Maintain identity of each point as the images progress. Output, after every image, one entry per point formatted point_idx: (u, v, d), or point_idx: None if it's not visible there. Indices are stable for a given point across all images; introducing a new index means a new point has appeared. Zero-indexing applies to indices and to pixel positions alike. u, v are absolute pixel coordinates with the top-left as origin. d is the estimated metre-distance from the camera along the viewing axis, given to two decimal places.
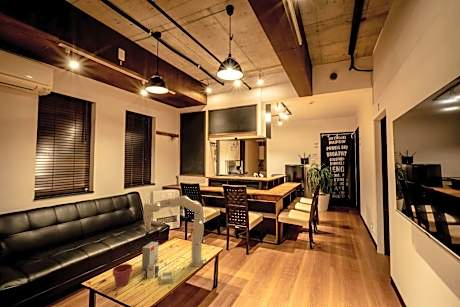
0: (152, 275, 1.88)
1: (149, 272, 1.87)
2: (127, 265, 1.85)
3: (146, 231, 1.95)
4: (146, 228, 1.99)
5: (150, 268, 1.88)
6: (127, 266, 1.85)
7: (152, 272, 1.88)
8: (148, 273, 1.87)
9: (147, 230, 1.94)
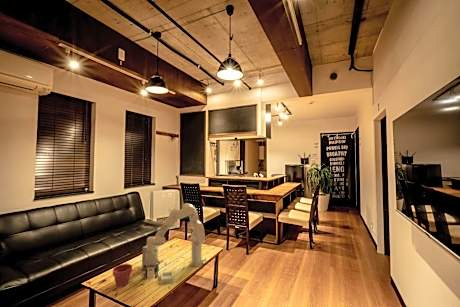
0: (152, 275, 1.88)
1: (149, 272, 1.87)
2: (127, 265, 1.85)
3: (158, 264, 1.92)
4: None
5: (150, 268, 1.88)
6: (127, 266, 1.85)
7: (152, 272, 1.88)
8: (148, 273, 1.87)
9: (159, 263, 1.93)
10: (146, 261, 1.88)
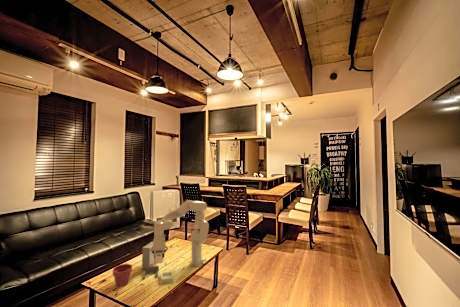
0: (160, 261, 1.82)
1: (157, 257, 1.81)
2: (127, 265, 1.85)
3: (166, 250, 1.85)
4: None
5: (158, 253, 1.81)
6: (127, 266, 1.85)
7: (160, 257, 1.82)
8: (156, 259, 1.81)
9: (167, 249, 1.86)
10: (154, 246, 1.82)
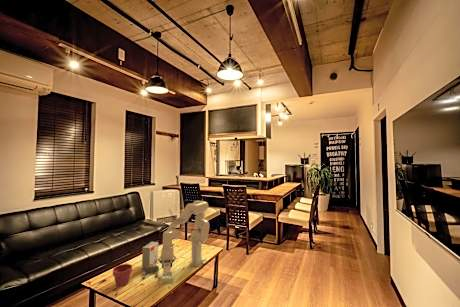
0: (168, 270, 1.82)
1: (165, 267, 1.81)
2: (127, 265, 1.85)
3: (174, 260, 1.86)
4: None
5: (166, 263, 1.81)
6: (127, 266, 1.85)
7: (168, 267, 1.82)
8: (165, 268, 1.81)
9: (175, 258, 1.87)
10: (162, 256, 1.82)
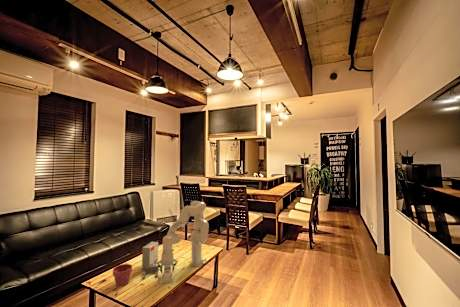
0: (169, 277, 1.82)
1: (166, 274, 1.81)
2: (127, 265, 1.85)
3: (176, 263, 1.86)
4: None
5: (167, 270, 1.82)
6: (127, 266, 1.85)
7: (169, 274, 1.82)
8: (165, 275, 1.81)
9: None
10: (162, 261, 1.82)
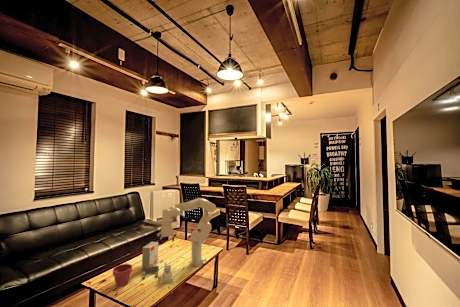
0: (169, 277, 1.82)
1: (166, 274, 1.81)
2: (127, 265, 1.85)
3: None
4: None
5: (167, 270, 1.82)
6: (127, 266, 1.85)
7: (169, 274, 1.82)
8: (165, 275, 1.81)
9: (176, 233, 1.97)
10: (162, 232, 1.92)
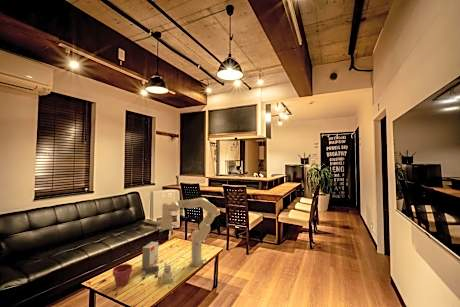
0: (169, 277, 1.82)
1: (166, 274, 1.81)
2: (127, 265, 1.85)
3: (174, 228, 2.05)
4: None
5: (167, 270, 1.82)
6: (127, 266, 1.85)
7: (169, 274, 1.82)
8: (165, 275, 1.81)
9: (175, 226, 2.06)
10: (162, 225, 2.01)
